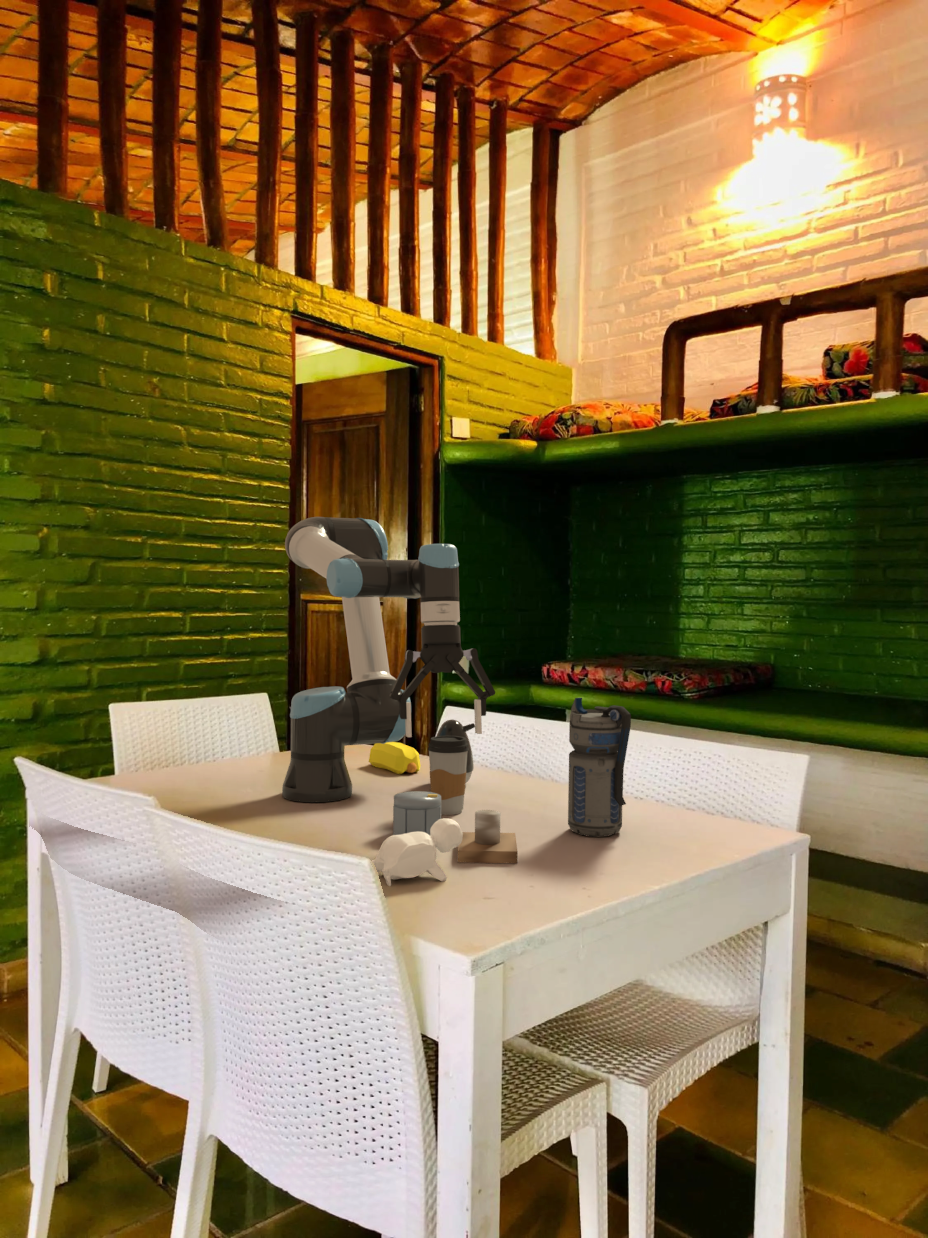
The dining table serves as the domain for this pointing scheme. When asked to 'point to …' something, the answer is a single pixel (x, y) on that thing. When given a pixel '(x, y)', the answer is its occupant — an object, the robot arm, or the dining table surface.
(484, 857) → the stud base
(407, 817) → the cap
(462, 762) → the coffee cup
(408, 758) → the yellow faceted long part
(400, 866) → the white animal figurine
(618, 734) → the beverage bottle
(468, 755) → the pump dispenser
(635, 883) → the dining table surface
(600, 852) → the dining table surface
